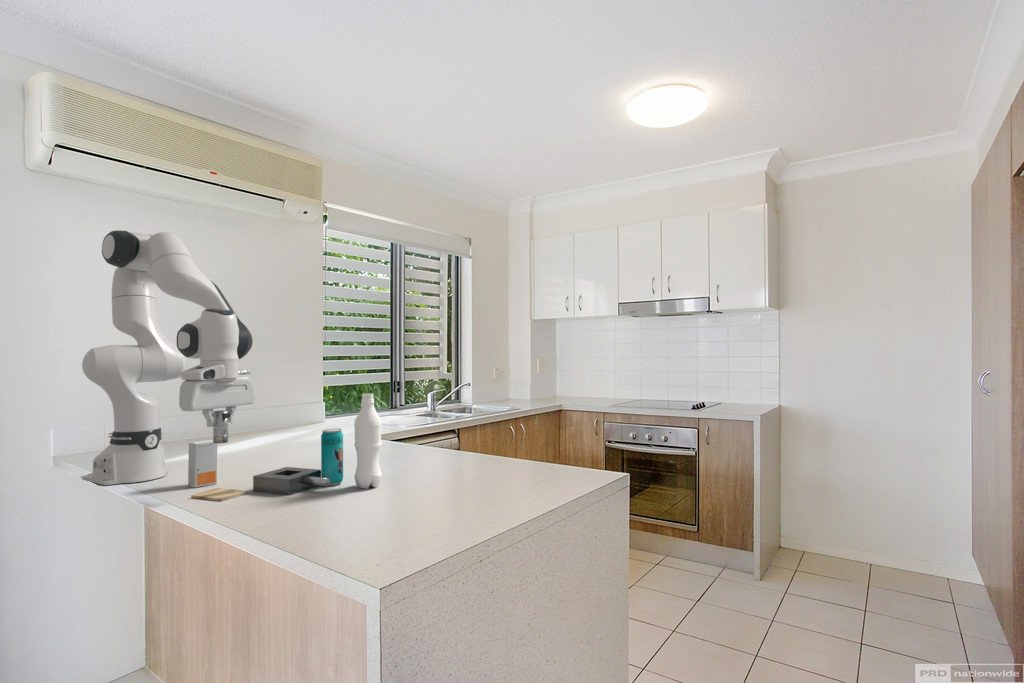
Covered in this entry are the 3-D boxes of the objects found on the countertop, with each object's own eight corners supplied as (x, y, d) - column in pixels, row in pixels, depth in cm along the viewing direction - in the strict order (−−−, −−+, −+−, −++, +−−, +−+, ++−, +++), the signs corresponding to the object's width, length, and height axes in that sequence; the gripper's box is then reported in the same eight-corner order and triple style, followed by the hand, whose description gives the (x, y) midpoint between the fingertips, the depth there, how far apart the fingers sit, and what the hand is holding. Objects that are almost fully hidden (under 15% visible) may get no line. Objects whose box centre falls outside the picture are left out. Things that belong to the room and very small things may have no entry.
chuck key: (207, 442, 142) (207, 410, 142) (220, 440, 145) (220, 409, 145) (220, 444, 139) (221, 412, 139) (233, 442, 142) (234, 411, 142)
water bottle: (385, 483, 153) (384, 392, 153) (376, 490, 146) (376, 394, 146) (360, 483, 153) (359, 392, 154) (350, 489, 146) (349, 395, 147)
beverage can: (336, 487, 149) (336, 431, 149) (317, 486, 150) (317, 431, 150) (347, 482, 155) (346, 428, 155) (328, 481, 156) (328, 428, 156)
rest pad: (191, 497, 140) (191, 495, 140) (218, 490, 147) (218, 487, 147) (221, 501, 136) (221, 498, 136) (247, 493, 144) (247, 490, 144)
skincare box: (194, 488, 149) (194, 443, 150) (187, 486, 152) (187, 442, 152) (217, 483, 154) (217, 440, 154) (210, 481, 157) (210, 439, 157)
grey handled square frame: (253, 491, 145) (253, 476, 146) (286, 481, 157) (286, 466, 157) (311, 497, 139) (311, 481, 139) (342, 486, 150) (342, 471, 150)
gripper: (242, 369, 153) (242, 420, 153) (174, 373, 134) (174, 430, 134) (260, 370, 151) (260, 420, 151) (193, 373, 132) (193, 431, 131)
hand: (219, 425), depth 142 cm, fingers closed on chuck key, 3 cm apart
